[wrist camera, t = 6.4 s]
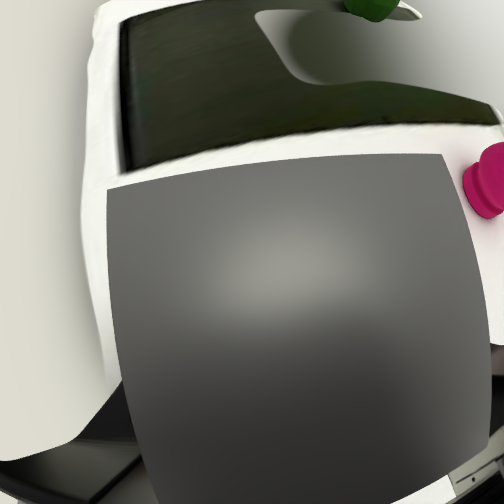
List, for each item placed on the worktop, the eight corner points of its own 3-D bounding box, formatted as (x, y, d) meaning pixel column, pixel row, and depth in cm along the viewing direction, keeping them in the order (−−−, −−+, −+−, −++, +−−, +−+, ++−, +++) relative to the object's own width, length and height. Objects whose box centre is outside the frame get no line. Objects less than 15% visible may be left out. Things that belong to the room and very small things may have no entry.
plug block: (307, 361, 15) (487, 446, 2) (225, 376, 15) (177, 543, 2) (293, 281, 16) (440, 154, 3) (211, 295, 16) (107, 189, 3)
